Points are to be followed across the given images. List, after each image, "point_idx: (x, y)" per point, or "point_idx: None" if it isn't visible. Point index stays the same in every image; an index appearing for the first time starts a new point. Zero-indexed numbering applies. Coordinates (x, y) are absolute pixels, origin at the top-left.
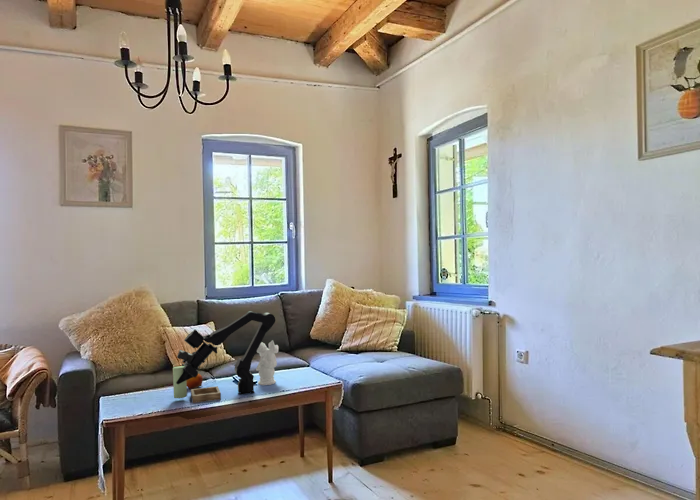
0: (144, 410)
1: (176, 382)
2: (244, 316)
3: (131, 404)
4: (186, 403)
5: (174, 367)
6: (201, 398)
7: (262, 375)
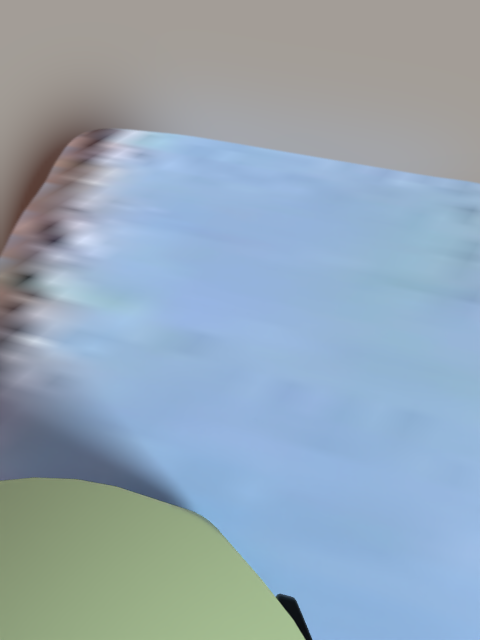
0: (118, 268)
1: None
2: None
3: (308, 247)
4: None
5: (230, 635)
6: None
7: None
